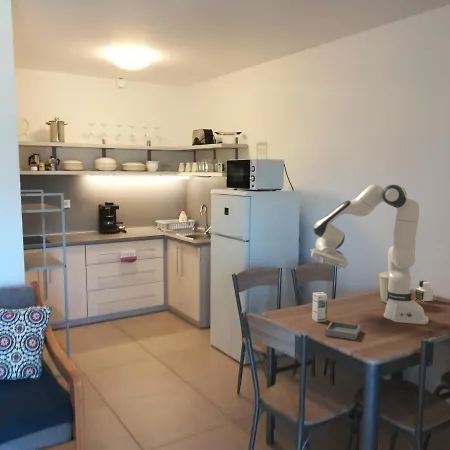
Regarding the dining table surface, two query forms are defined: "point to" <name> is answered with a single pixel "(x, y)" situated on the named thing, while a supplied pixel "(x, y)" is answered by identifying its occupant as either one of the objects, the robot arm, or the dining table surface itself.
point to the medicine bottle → (424, 291)
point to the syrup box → (319, 307)
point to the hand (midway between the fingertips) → (331, 264)
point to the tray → (342, 330)
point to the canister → (384, 285)
